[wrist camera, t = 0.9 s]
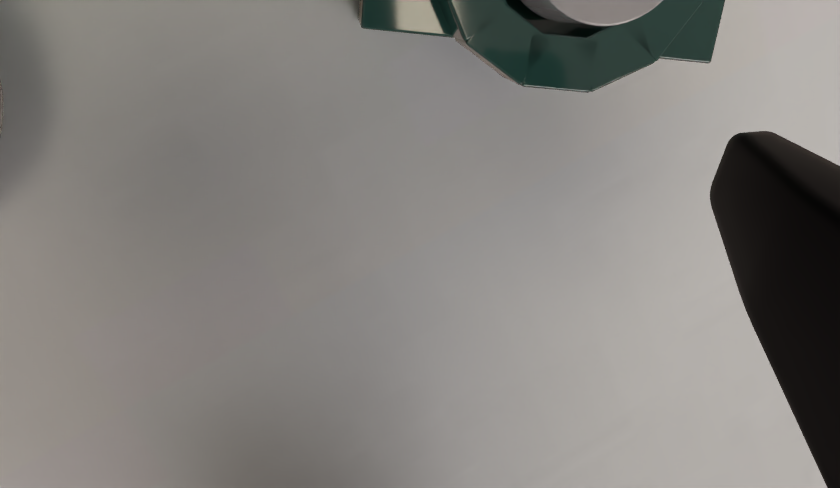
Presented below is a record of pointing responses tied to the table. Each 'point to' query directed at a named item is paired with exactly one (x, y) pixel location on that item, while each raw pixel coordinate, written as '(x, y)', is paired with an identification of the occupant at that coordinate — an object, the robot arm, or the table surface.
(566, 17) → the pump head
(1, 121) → the pump dispenser
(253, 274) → the table surface
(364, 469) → the table surface
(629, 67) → the green button box
